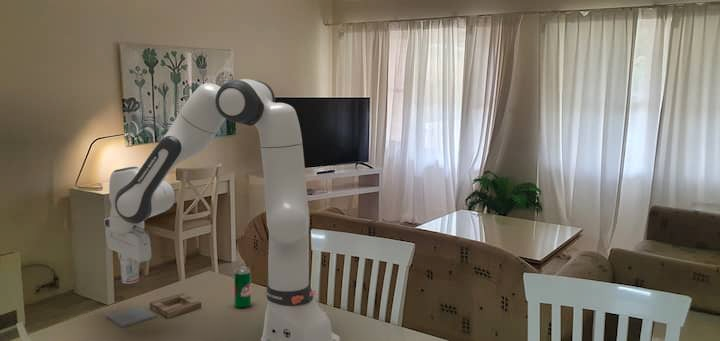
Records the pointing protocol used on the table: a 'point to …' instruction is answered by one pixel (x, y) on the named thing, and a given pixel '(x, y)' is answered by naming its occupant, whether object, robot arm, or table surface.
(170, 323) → the table surface
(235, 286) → the soda can
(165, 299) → the frame
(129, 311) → the grey mat
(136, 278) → the pill bottle
